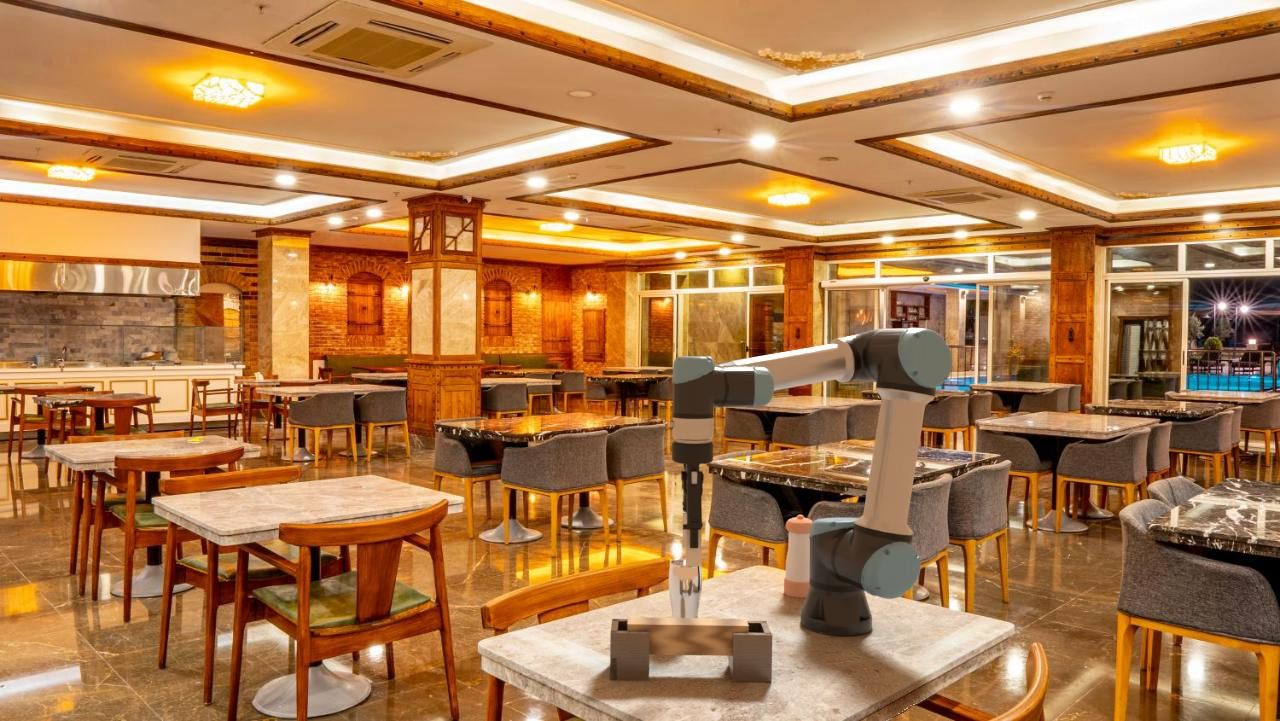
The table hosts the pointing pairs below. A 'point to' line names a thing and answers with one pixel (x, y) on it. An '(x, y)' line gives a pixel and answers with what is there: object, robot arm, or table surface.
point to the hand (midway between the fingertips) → (691, 556)
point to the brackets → (744, 664)
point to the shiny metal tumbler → (684, 588)
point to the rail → (689, 634)
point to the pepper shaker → (798, 557)
